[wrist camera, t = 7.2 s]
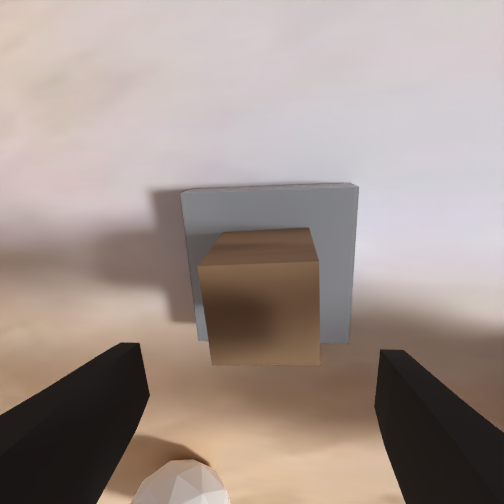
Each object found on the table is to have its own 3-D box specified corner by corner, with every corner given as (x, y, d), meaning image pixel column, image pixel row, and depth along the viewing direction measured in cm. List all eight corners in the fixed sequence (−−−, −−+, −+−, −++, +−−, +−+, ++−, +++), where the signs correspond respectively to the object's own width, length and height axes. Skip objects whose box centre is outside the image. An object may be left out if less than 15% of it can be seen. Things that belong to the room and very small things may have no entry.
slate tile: (342, 325, 19) (348, 344, 17) (206, 322, 20) (198, 340, 18) (350, 182, 16) (358, 186, 14) (191, 188, 17) (180, 193, 15)
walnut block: (310, 305, 17) (320, 365, 12) (232, 306, 17) (212, 365, 13) (308, 227, 15) (319, 261, 11) (223, 232, 16) (197, 266, 11)
